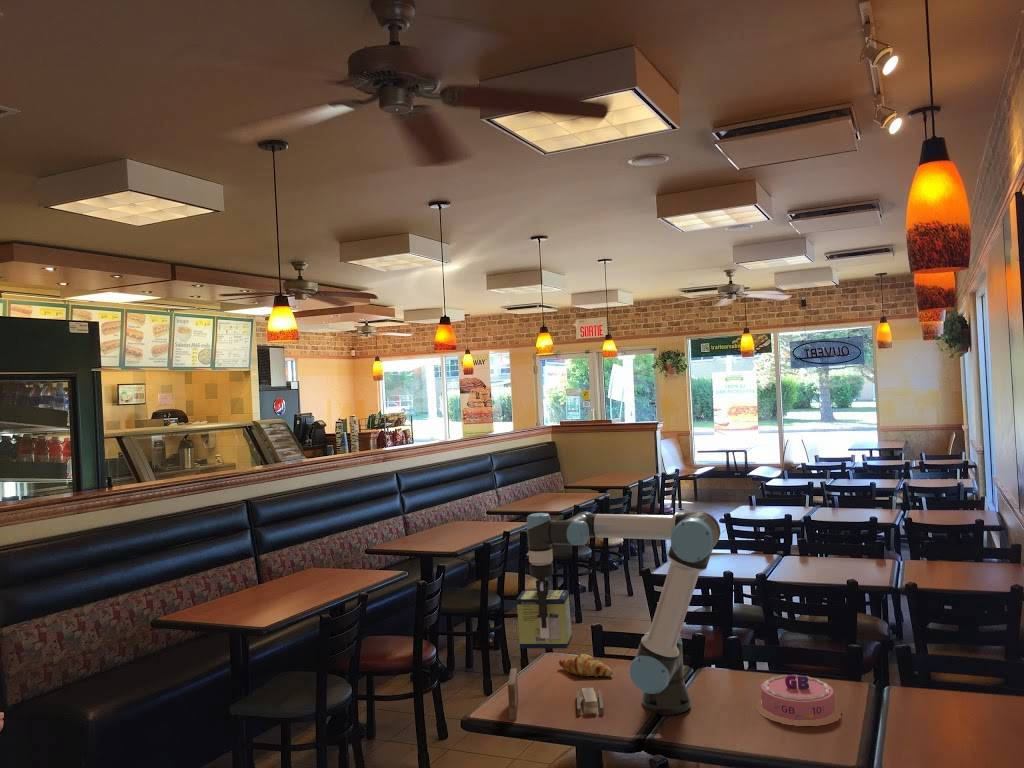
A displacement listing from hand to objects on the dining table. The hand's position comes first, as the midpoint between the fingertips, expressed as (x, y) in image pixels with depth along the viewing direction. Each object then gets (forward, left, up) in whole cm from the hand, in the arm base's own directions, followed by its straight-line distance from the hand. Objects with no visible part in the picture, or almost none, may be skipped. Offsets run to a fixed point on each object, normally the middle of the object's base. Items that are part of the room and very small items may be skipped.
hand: (545, 632), depth 251 cm
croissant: (-12, -31, -25) cm, 42 cm away
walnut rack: (-3, 0, -25) cm, 25 cm away
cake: (-76, +5, -25) cm, 80 cm away
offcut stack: (-13, 0, -24) cm, 27 cm away
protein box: (0, 0, -4) cm, 4 cm away
